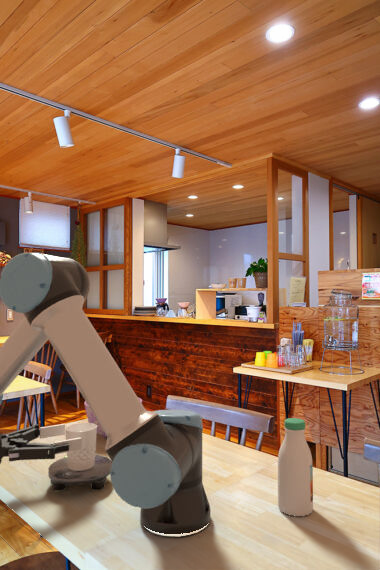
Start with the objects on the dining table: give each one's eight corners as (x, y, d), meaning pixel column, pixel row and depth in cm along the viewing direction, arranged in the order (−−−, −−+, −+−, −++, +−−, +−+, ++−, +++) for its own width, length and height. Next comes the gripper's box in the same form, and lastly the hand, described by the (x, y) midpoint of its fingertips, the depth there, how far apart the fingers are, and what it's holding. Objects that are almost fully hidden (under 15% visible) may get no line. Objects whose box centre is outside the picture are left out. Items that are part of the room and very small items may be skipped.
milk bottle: (307, 521, 94) (306, 427, 94) (272, 512, 98) (272, 421, 98) (317, 506, 100) (316, 418, 101) (284, 498, 104) (284, 413, 105)
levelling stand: (122, 487, 111) (122, 469, 111) (58, 503, 102) (59, 483, 102) (97, 464, 125) (97, 449, 125) (39, 477, 116) (39, 460, 117)
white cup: (88, 473, 108) (88, 432, 108) (59, 471, 110) (59, 430, 110) (101, 461, 116) (101, 423, 116) (74, 459, 117) (74, 421, 118)
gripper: (-25, 451, 112) (58, 437, 123) (-11, 487, 91) (88, 466, 102) (-25, 421, 112) (58, 410, 123) (-10, 451, 91) (89, 434, 102)
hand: (72, 435), depth 113 cm, fingers open, 13 cm apart
